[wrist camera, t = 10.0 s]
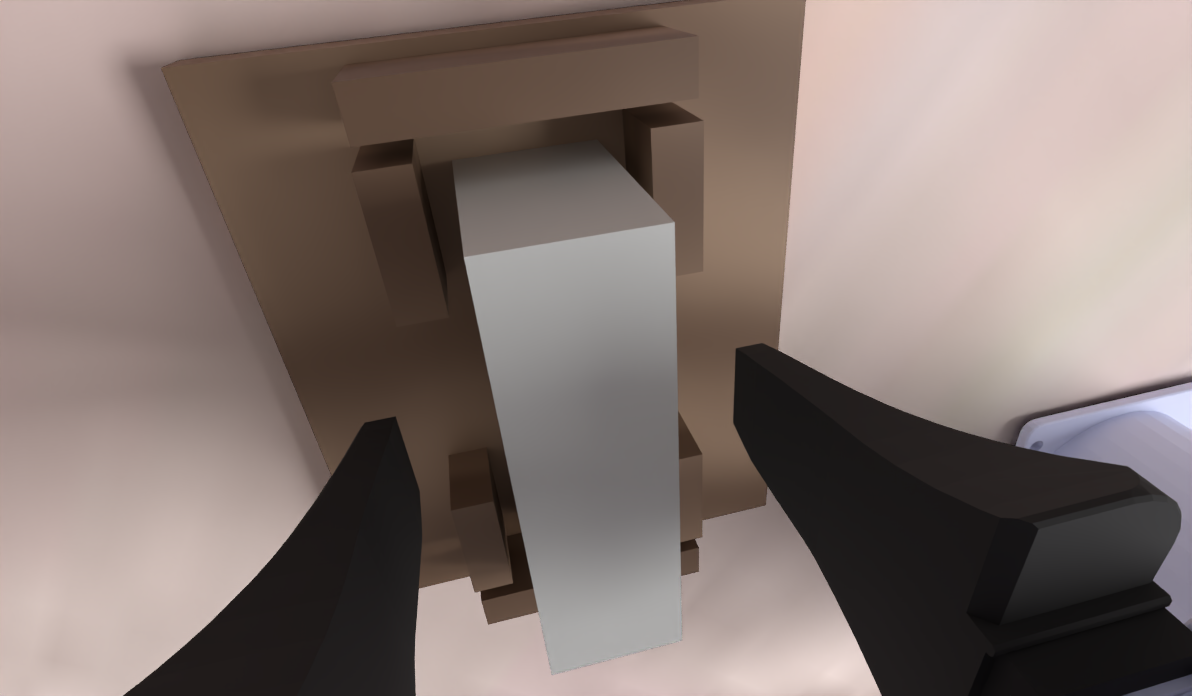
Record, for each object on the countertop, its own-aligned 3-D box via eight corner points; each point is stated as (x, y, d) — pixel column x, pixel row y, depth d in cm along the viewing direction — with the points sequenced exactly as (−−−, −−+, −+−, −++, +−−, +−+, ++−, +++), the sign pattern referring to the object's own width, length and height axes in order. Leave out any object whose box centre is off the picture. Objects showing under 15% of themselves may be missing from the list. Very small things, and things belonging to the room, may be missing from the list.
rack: (752, 483, 21) (795, 553, 19) (384, 569, 20) (377, 659, 17) (783, -12, 14) (863, -4, 11) (179, 60, 12) (112, 87, 9)
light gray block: (624, 488, 19) (682, 640, 14) (523, 511, 18) (551, 675, 14) (596, 139, 13) (674, 221, 9) (452, 160, 13) (464, 257, 9)
